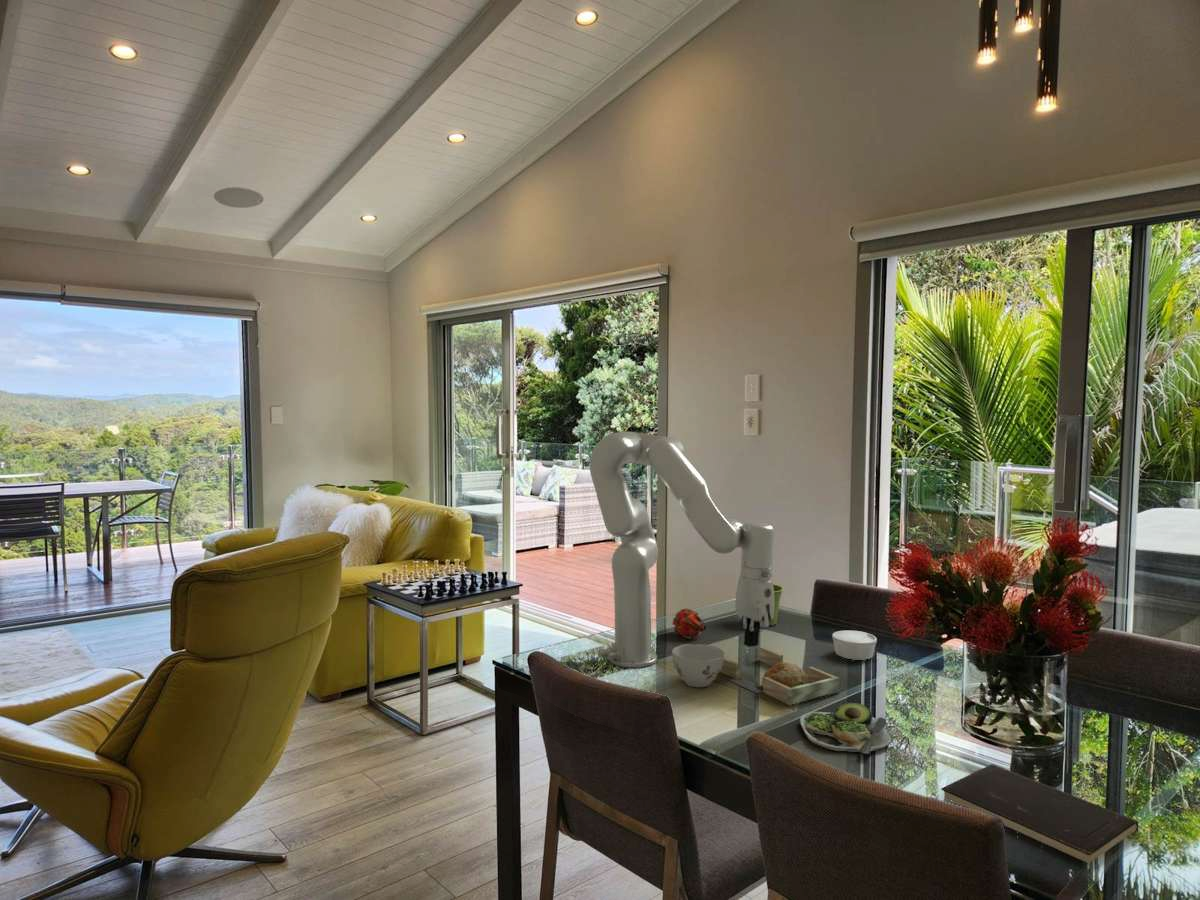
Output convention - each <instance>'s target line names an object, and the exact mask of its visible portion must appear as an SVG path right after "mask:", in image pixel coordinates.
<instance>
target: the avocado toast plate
mask: <svg viewBox="0 0 1200 900" xmlns="http://www.w3.org/2000/svg"><path fill="white" fill-rule="evenodd" d="M831 713H832V714H834V718H835V719H833V718H832V717H831V716H829V715H826V714H831ZM886 724H887V719H886V718H883V717H880V716H879V717H878V718H875V717H873V715H872V711H871V710H870V709H869V707H868V706H866V705H865V704H863V703H858V702H848V703H846V702H845V703H842V704H841V705H839V706H837V707H836V710H835V711H834V712H825V711H811V712H806V713H804V714H803V715H801V716H800V718H799V727H800V726H801V727H800V728H801V730H803V732H804V735H805V736H806V737H807V738H808V740H809V741H810V742H811V743H813V744H814V743H815V744H814V745H816V744H818V745H821V746H824V747H828V748H840V749H857V750H858V751H859V752H860V753H859V754H863V755H870V751H871V752H874V751H878V750H881V749H884V748H885V747H887V746H889V745H890V744H891V741H892V739H891V736H890V735H889V733H888V732H887V731H886V729H884V727H885V726H886ZM806 727H807V728H810V729H813V730H817V731H822V732H826V733H833V734H834V736H835V737H836V738H837V739H839V740H841V741H844V742H848V743H850V744H851V745H852V746H850V747H849V746H835V744H831V743H827V742H824V741H822V740H820V739H818V738H817V737H816V738H817V739H816V738H814V737H812V736H811V735H810V734H809V733H808V732H807V730H806Z"/></svg>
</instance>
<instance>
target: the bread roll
mask: <svg viewBox="0 0 1200 900" xmlns="http://www.w3.org/2000/svg"><path fill="white" fill-rule="evenodd" d="M805 673H806V672H805V671H804V670H803V668H801V667H800V666H798V665H797V664H796V663H790V662H783V663H779V664H776V665H774V666H770V668H768V669H767V670H766V671H765V672H764V674H763V677H762V678H761V679H762V681H761V682H762V684H763V678H764V677H768V678H770V679H772V680H775V681H777V682H779V683H781V684H783V685H786V686H788V687H790V688H792V687H796V686H800V685H804V684H808V683H810V682H808V677H807V675H806V674H807V673H806V674H805Z"/></svg>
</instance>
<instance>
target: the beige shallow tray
mask: <svg viewBox="0 0 1200 900" xmlns="http://www.w3.org/2000/svg"><path fill="white" fill-rule="evenodd" d="M758 661H759V662H762V663H764V664H767V665H769V666H770V667H772V666H774V665H776V664H779V663H784V655H783V654H781V653H779V652H777V651H774V650H772V649H769V648H767V647H765V646H759V647H758ZM807 669H808V673H806V672H805V674H806V675H807V677H808V682H809V683H808V684H804V685H800V686H796V687H792V688H790V687H788V686H786V685H783V684H781V683H779V682H777V681H775V680H772V679H770V678H768V677H764V676H763V677H764V678H763V677H762V678H763V683H762V690H761V689H758V688H757V687H754V686H753V685H751V684H749V683H746V682H745V681H743V680H741V679H740V664H739V663H737V662H735V661H732V660H731V659H728V658H726V657H724V660H723V665H722V668H721V670H720V672H719V673H723V674H725V675H726V676H729V677H731V679H729V680H728V681H729V682H730V683H733V684H735V685H738V686H739V687H742V688H744V689H746V690H747V691H750V692H752V693H754V694H756V695H757V694H762V693H764V694H765V695H768V696H769V697H772V698H774V699H776V700H778V701H781V702H782V703H784V704H787V705H788V706H793V705H792V704H794V705H796V704H795V703H798V702H802V701H806V700H808V699H812V698H815V697H818V696H822V695H825V694H828V693H832V692H836V691H839V692H840V687H841V686H840V684H841V681H840V679H841V678H840V677H838V676H836V675H833V674H830V673H828V672H826V671H823V670H821V669H818V668H816V667H814V666H808V668H807ZM810 682H811V683H810ZM806 702H807V701H806ZM802 703H803V702H802ZM798 704H799V703H798Z"/></svg>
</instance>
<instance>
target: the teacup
mask: <svg viewBox="0 0 1200 900" xmlns="http://www.w3.org/2000/svg"><path fill="white" fill-rule="evenodd" d="M671 657H672V662H673V666H674V668H675V670H676V673H677V674H678V676H679V677H680V679H682V680H683V681H684V683H685V684H686V685H687V686H689V687H691V688H692V687H693V688H705V687H709V686H710V685H711V683H713V682H714V680H715V679H716V678H718V676H719V674H720V673H721V672H720V670H721V668H722V665H723V660H724V658H725V651H724V650H723V649H721V648H720V647H716V646H714V645H709V644H700V643H699V644H692V643H691V644H682V645H679V646H676V647H674V648H672V649H671Z"/></svg>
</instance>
